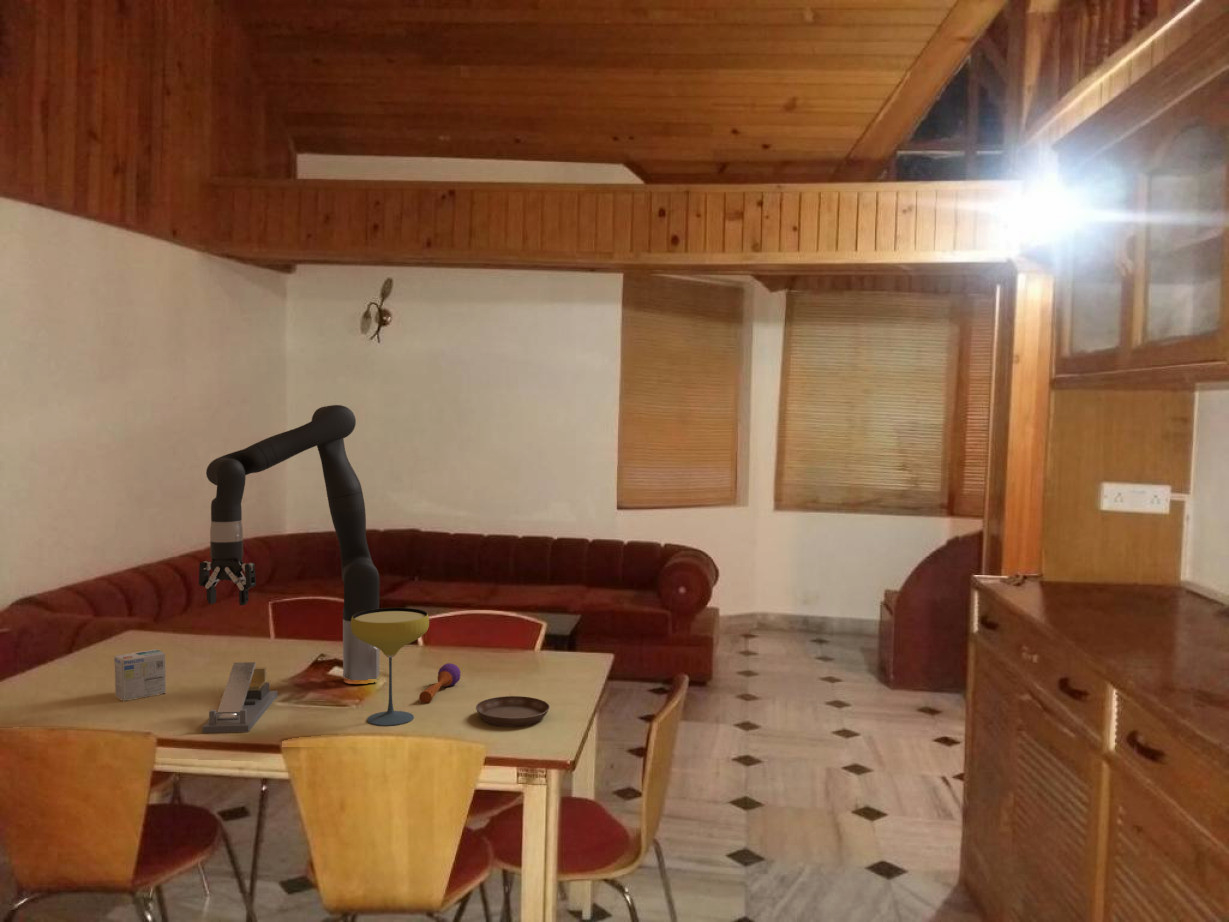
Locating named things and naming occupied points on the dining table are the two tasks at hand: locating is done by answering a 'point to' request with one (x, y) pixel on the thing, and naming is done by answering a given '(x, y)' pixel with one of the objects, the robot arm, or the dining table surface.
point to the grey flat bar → (236, 691)
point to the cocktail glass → (390, 645)
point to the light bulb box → (140, 674)
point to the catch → (258, 679)
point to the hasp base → (243, 713)
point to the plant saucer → (512, 710)
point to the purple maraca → (441, 681)
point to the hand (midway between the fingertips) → (227, 604)
